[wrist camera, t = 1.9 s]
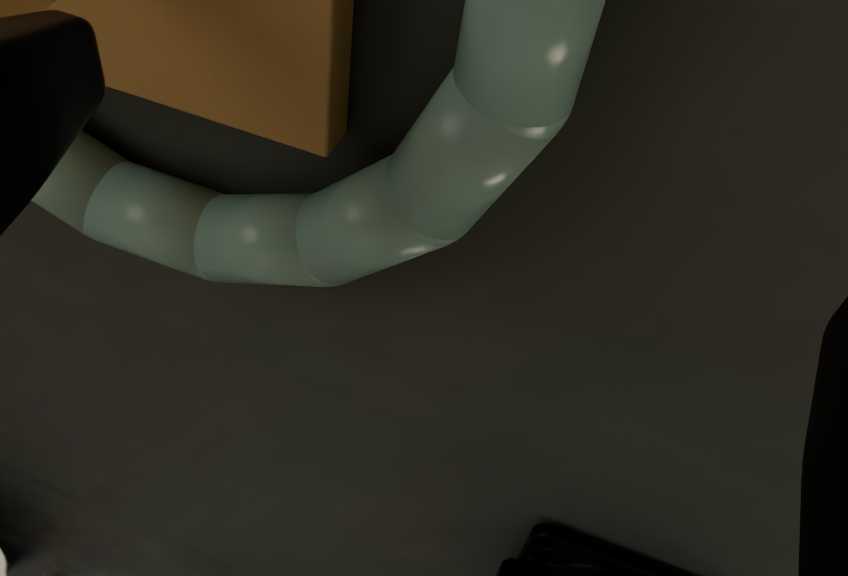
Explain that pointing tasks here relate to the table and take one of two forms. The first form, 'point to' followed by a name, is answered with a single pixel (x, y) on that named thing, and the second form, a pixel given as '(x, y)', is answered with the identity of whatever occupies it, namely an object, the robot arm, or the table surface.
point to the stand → (228, 60)
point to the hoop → (366, 189)
